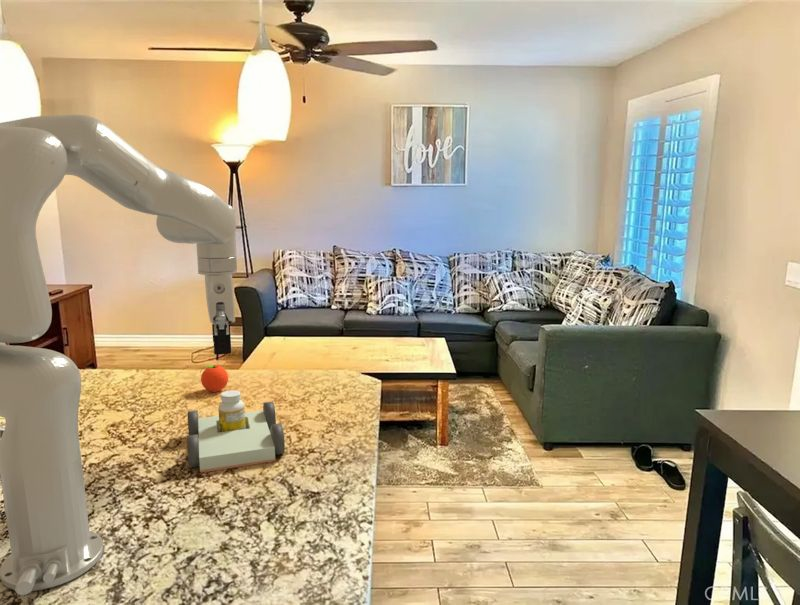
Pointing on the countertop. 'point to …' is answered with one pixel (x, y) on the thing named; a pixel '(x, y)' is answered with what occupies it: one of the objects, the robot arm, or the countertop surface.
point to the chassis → (234, 441)
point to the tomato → (214, 378)
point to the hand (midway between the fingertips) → (221, 347)
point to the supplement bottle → (231, 412)
